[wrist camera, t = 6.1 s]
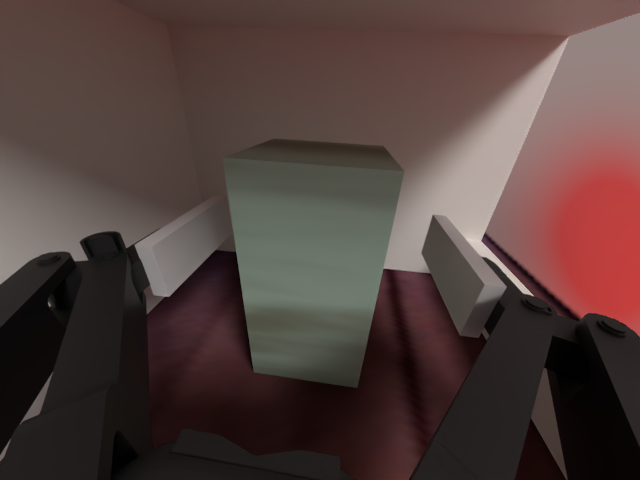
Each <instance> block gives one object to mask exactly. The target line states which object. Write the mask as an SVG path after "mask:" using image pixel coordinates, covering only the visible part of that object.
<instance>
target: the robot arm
mask: <svg viewBox="0 0 640 480" xmlns="http://www.w3.org/2000/svg"><path fill="white" fill-rule="evenodd" d="M231 234H232V231H231V224H230V217H229V210H228V204H227V197H226V196H222V195H214V196H213V197H211V198H209V199H208V200H206V201H204V202H203V203H201V204H200V205H198V206H196V207H195V208H193V209H192V210H190V211H188V212H187V213H185V214H183V215H182V216H180V217H179V218H177V219H175V220H174V221H172V222H171V223H169V224H167V225H166V226H164V227H162V228H159V229H157V230H155V231H154V232H152V233H151V234H149V235H147V236H146V237H145V238H142V239H141V240H139V241H138V242H136V243H134V244H133V245H131V246H129V247H128V248H126V246H125V244H124V241H123V239H122V236H121V234H120V233H119V232H116V231H107V232H100V233H96V234H93V235H90V236H87V237H85V238H84V239H82V240H81V241H80V242H79V243H80V245H81V247H82V249H83V251H84V253H85V254H86V256H87V258H88V260H87V261H74V259H73V257H72V256H71V254H70V253H69V252H65V251H62V252H50V253H46V254H42V255H40V256H39V257H36V258H34V259H32V260H30V261H29V262H27V263H26V264H25V265H24V266H22V267H21V268H20V269H19V270H17V271H16V272H15V273H14V274H13V275H11V276H10V277H9V278H8V279H7V280H5V281H4V282H3V283H2V284H0V455H1V453H2V452H3V450H4V448H5V447H6V445H7V444H8V442H9V441H10V442H9V445H8V448H7V450H6V453H5V456H4V458H3V461H2V464H1V466H0V480H355V479H354V478H353V477H351V476H350V475H349V474H347V473H345V472H344V471H342V470H340V461H341V457H339V456H334V455H328V454H323V453H317V452H312V451H306V450H301V449H300V450H293V451H287V452H280V453H273V454H267V455H259V456H257V455H253V454H251V453H250V452H248V451H246V450H245V449H243V448H241V447H239V446H238V445H236V444H234V443H233V442H231V441H229V440H228V439H226V438H224V437H223V436H221V435H218V434H212V433H207V432H201V431H196V430H190V429H185V428H183V430H182V431H181V433H180V435H179V437H178V439H177V441H176V442H171V443H168V444H164V445H161V446H159V447H156V448H154V446H153V442H152V438H151V425H150V396H149V367H148V339H147V310H146V295H145V293H144V290H145V289H146V288H147V287H148V286H150V287H151V289H152V292H153V295H156V296H164V297H170V296H171V294H172V293H173V292H174V291H175V290H176V289H177V288H178V287H179V286H180V285H181V284H182V283H183V282H184V281H185V280H186V279H187V278H188V277H189V276H190V275H191V274H192V273H193V272H194V271H195V270H196V269H197V268H198V267H199V266H200V265H201V264H202V263H203V262H204V261H205V260H206V259H207V258H208V257H209V256H210V255H211V254H212V253H213V252H214V251H215V250H216V249H217V248H218V247H219V246H220V245H221V244H222V243H223V242H224V241H225V240H226V239H227V238H228V237H229V236H230V235H231ZM421 254H422V256H423V258H424V260H425V262H426V264H427V266H428V269H429V271H430V273H431V275H432V277H433V279H434V281H435V284H436V286H437V288H438V290H439V292H440V294H441V296H442V299H443V301H444V303H445V305H446V307H447V309H448V311H449V314H450V316H451V318H452V320H453V322H454V324H455V327H456V329H457V331H458V333H459V335H460V336H468V337H475V338H479V336H480V335H481V333H482V331H483V329H484V328H485V329H486V331H487V333H488V334H489V337H488V339H487V341H486V343H485V344H484V346H483V348H482V349H481V351H480V353H479V355H478V357H477V359H476V360H475V362H474V364H473V366H472V368H471V369H470V371H469V373H468V375H467V377H466V378H465V380H464V382H463V384H462V385H461V387H460V389H459V391H458V393H457V394H456V396H455V398H454V400H453V402H452V403H451V405H450V407H449V409H448V411H447V412H446V414H445V416H444V418H443V419H442V421H441V423H440V425H439V427H438V428H437V430H436V432H435V434H434V436H433V437H432V439H431V441H430V443H429V445H428V446H427V448H426V450H425V452H424V453H423V455H422V457H421V459H420V461H419V462H418V464H417V466H416V468H415V470H414V471H413V473H412V475H411V477H410V479H409V480H515V476H516V472H517V469H518V465H519V461H520V457H521V453H522V449H523V446H524V442H525V438H526V434H527V430H528V427H529V423H530V419H531V415H532V411H533V408H534V404H535V400H536V396H537V392H538V389H539V385H540V381H541V377H542V373H543V369H544V368H546V369H547V374H548V380H549V385H550V390H551V395H552V401H553V406H554V411H555V416H556V422H557V427H558V432H559V437H560V443H561V448H562V453H563V458H564V464H565V469H566V474H567V479H568V480H640V337H639V336H638V335H637V334H636V333H635V332H634V331H633V330H631V329H630V328H629V327H627V326H626V325H625V324H623V323H621V322H619V321H617V320H615V319H612V318H609V317H607V316H603V315H599V314H594V313H593V314H592V313H588V314H586V315H585V316H584V317H583V318H582V319H581V321H580V322H578V321H575V320H572V319H568V318H565V317H562V316H558V315H557V312H556V311H555V309H554V308H553V307H552V306H551V305H549V304H548V303H546V302H545V301H543V300H541V299H539V298H537V297H534V296H531V295H528V294H523V293H522V292H521V291H520V289H519V288H518V287H517V286H516V285H515V284H514V283H513V282H512V281H511V280H510V279H509V277H507V275H506V274H505V273H504V272H502V270H501V269H500V268H499V267H498V265H497V264H496V263H494V262H493V261H491V260H489V259H488V258H486V257H481V256H480V255H479V254H478V253H477V252H476V250H475V249H474V248H473V247H472V246H471V245H470V243H469V242H468V241H467V240H466V239H465V238H464V236H463V235H462V234H461V233H460V232H459V231H458V229H457V228H456V227H455V226H454V225H453V224H452V222H451V221H450V220H449V219H448V218H447V217H446V216H442V215H433V216H432V219H431V222H430V226H429V229H428V232H427V236H426V239H425V242H424V245H423V249H422V252H421ZM48 302H49V303H50V305H51V306H50V307H49V304H48ZM52 372H53V373H52ZM51 374H52V377H51V380H50V383H49V386H48V389H47V393H46V396H45V399H44V402H43V405H42V409H41V411H40V413H39V415H37V416H34V417H32V418H29V419H27V420H25V421H23V422H22V420H23V418H24V417H25V415H26V414H27V412H28V410H29V409H30V407H31V406H32V404H33V403H34V401H35V399H36V398H37V396H38V395H39V393H40V391H41V390H42V388H43V387H44V385H45V383H46V382H47V380H48V379H49V377H50V376H51ZM21 422H22V423H21ZM20 423H21V424H20ZM10 439H11V440H10Z"/></svg>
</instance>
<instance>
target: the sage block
mask: <svg viewBox="0 0 640 480" xmlns="http://www.w3.org/2000/svg"><path fill="white" fill-rule="evenodd" d="M223 164H224V171H225V178H226V185H227V192H228V199H229V206H230V212H231V219H232V226H233V233H234V240H235V247H236V254H237V261H238V268H239V274H240V281H241V288H242V295H243V302H244V309H245V316H246V323H247V329H248V336H249V343H250V350H251V357H252V364H253V371H254V372H255V373H261V374H268V375H274V376H281V377H288V378H294V379H301V380H307V381H314V382H321V383H327V384H334V385H341V386H347V387H354V388H357V387H358V383H359V378H360V374H361V369H362V364H363V360H364V355H365V351H366V346H367V341H368V337H369V332H370V328H371V323H372V318H373V314H374V309H375V305H376V300H377V295H378V291H379V286H380V282H381V277H382V272H383V268H384V263H385V259H386V254H387V249H388V245H389V240H390V236H391V231H392V226H393V222H394V217H395V213H396V208H397V203H398V199H399V194H400V190H401V185H402V180H403V176H404V170H403V169H402V168H401V167H400V165H399V164H398V163H397V162H396V161H395V159H394V158H393V157H392V156H391V154H390V153H389V152H388V151H387V150H386V148H385V147H384V146H378V145H363V144H348V143H333V142H318V141H303V140H288V139H271V140H269V141H266V142H263V143H261V144H258V145H255V146H253V147H250V148H247V149H245V150H242V151H239V152H237V153H234V154H231V155H229V156H226V157H223Z"/></svg>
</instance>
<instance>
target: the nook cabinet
mask: <svg viewBox="0 0 640 480" xmlns="http://www.w3.org/2000/svg"><path fill="white" fill-rule="evenodd" d="M637 13H640V0H0V284H2V283H3V282H4V281H5V280H7V279H8V278H9V277H10V276H11V275H13V274H14V273H15V272H16V271H17V270H19V269H20V268H21V267H22V266H24V265H25V264H26V263H27V262H29V261H30V260H32V259H34V258H36V257H39V256H40V255H42V254H46V253H50V252H62V251H65V252H69V253H70V254H71V256H72V257H73V259H74V261H87V260H88V258H87V256H86V254H85V253H84V251H83V249H82V247H81V245H80V243H79V242H80V241H81V240H82V239H84V238H85V237H87V236H90V235H93V234H96V233H100V232H107V231H116V232H119V233H120V234H121V236H122V239H123V241H124V244H125V246H126V248H128V247H129V246H131V245H133V244H134V243H136V242H138V241H139V240H141V239H142V238H145V237H146V236H147V235H149V234H151V233H152V232H154V231H155V230H157V229H159V228H162V227H164V226H166V225H167V224H169V223H171V222H172V221H174V220H175V219H177V218H179V217H180V216H182V215H183V214H185V213H187V212H188V211H190V210H192V209H193V208H195V207H196V206H198V205H200V204H201V203H203V202H204V201H206V200H208V199H209V198H211V197H213V196H214V195H222V196H226V197H227V204H228V210H229V217H230V224H231V231H232V234H231V235H230V236H229V237H228V238H227V239H226V240H225V241H224V242H223V243H222V244H221V245H220V246H219V247H218V248H217V249H216V250H221V251H230V252H236V247H235V240H234V233H233V226H232V219H231V212H230V206H229V199H228V192H227V185H226V178H225V171H224V164H223V157H226V156H229V155H231V154H234V153H237V152H239V151H242V150H245V149H247V148H250V147H253V146H255V145H258V144H261V143H263V142H266V141H269V140H271V139H288V140H303V141H318V142H333V143H348V144H363V145H378V146H384V147H385V148H386V150H387V151H388V152H389V153H390V154H391V156H392V157H393V158H394V159H395V161H396V162H397V163H398V164H399V165H400V167H401V168H402V169H403V170H404V176H403V180H402V185H401V190H400V194H399V199H398V203H397V208H396V213H395V217H394V222H393V226H392V231H391V236H390V240H389V245H388V249H387V254H386V259H385V263H384V268H385V269H394V270H403V271H412V272H421V273H430V271H429V269H428V266H427V264H426V262H425V260H424V258H423V256H422V254H421V252H422V249H423V245H424V242H425V239H426V236H427V232H428V229H429V226H430V222H431V219H432V216H433V215H442V216H446V217H447V218H448V219H449V220H450V221H451V222H452V224H453V225H454V226H455V227H456V228H457V229H458V231H459V232H460V233H461V234H462V235H463V236H464V238H465V239H466V240H467V241H468V242H469V243H470V245H471V246H472V247H473V248H474V249H475V250H476V252H477V253H478V254H479V255H480V256H481V257H486V258H488V259H489V260H491V261H493V262H494V263H496V264H497V265H498V267H499V268H500V269H501V270H502V272H504V273H505V274H506V275H507V277H509V279H510V280H511V281H512V282H513V283H514V284H515V285H516V286H517V287H518V288H519V289H520V291H521V292H522V293H523V294H528V295H531V296H533V295H532V294H531V293H530V291H529V290H528V289H527V288H526V287H525V286H524V285H523V284H522V283H521V282H520V281H519V280H518V279H517V278H516V277H515V276H514V275H513V274H512V273H511V272H510V271H509V270H508V269H507V268H506V267H505V266H504V265H503V263H502V262H501V261H500V260H499V259H498V258H497V257H496V256H495V255H494V254H493V253H492V252H491V251H490V250H489V249H488V248H487V247H486V246H485V245H484V244H483V243H482V242H481V240H482V238H483V235H484V233H485V231H486V228H487V226H488V224H489V221H490V219H491V217H492V214H493V212H494V210H495V208H496V205H497V203H498V201H499V198H500V196H501V194H502V191H503V189H504V187H505V184H506V182H507V180H508V177H509V175H510V173H511V171H512V168H513V166H514V163H515V161H516V159H517V157H518V154H519V152H520V150H521V147H522V145H523V143H524V140H525V138H526V136H527V133H528V131H529V129H530V127H531V124H532V122H533V120H534V117H535V115H536V113H537V110H538V108H539V106H540V103H541V101H542V99H543V97H544V95H545V92H546V90H547V87H548V85H549V83H550V81H551V78H552V76H553V74H554V71H555V69H556V67H557V65H558V62H559V60H560V58H561V55H562V53H563V51H564V48H565V46H566V44H567V41H568V39H569V37H570V36H571V35H574V34H577V33H580V32H583V31H586V30H589V29H592V28H595V27H598V26H601V25H604V24H607V23H610V22H613V21H616V20H619V19H622V18H624V17H628V16H631V15H634V14H637ZM430 274H431V273H430ZM144 293H145V295H146V310H147V314H148V313H149V312H150V311H151V310H152V309H153V308H154V307H155V306H156V305H157V304H158V303H159V302H160V301H161V300H162V299H163V298H164V296H156V295H153V292H152V289H151V287H150V286H148V287H147V288H146V289H145V290H144ZM48 304H49V307H50V306H51V305H50V303H49V302H48ZM482 334H483V335H484V337H485V339H486V341H487V339H488V337H489V334H488V333H487V331H486V329H485V328H484V329H483V331H482ZM52 373H53V372H52ZM51 377H52V374H51V376H50V377H49V379H48V380H47V382H46V383H45V385H44V387H43V388H42V390H41V391H40V393H39V395H38V396H37V398H36V399H35V401H34V403H33V404H32V406H31V407H30V409H29V410H28V412H27V414H26V415H25V417H24V418H23V420H22V422H23V421H25V420H27V419H29V418H32V417H34V416H37V415H39V413H40V411H41V409H42V405H43V402H44V399H45V396H46V393H47V389H48V386H49V383H50V380H51ZM531 419H532V421H533V423H534V424H535V426H536V428H537V429H538V431H539V433H540V435H541V436H542V438H543V440H544V442H545V443H546V445H547V447H548V449H549V450H550V452H551V454H552V456H553V457H554V459H555V461H556V463H557V464H558V466H559V468H560V470H561V471H562V473H563V475H564V476H565V478H566V480H568V479H567V474H566V469H565V464H564V458H563V453H562V448H561V443H560V437H559V432H558V427H557V422H556V416H555V411H554V406H553V401H552V395H551V390H550V385H549V380H548V374H547V369H546V368H544V369H543V373H542V377H541V381H540V385H539V389H538V392H537V396H536V400H535V404H534V408H533V411H532V415H531ZM22 422H21V423H22ZM21 423H20V424H21ZM10 440H11V439H10ZM9 442H10V441H9ZM9 442H8V444H7V445H6V447H5V448H4V450H3V452H2V453H1V455H0V461H1V460H2V459H3V458H4V456H5V453H6V450H7V448H8V445H9Z"/></svg>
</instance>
